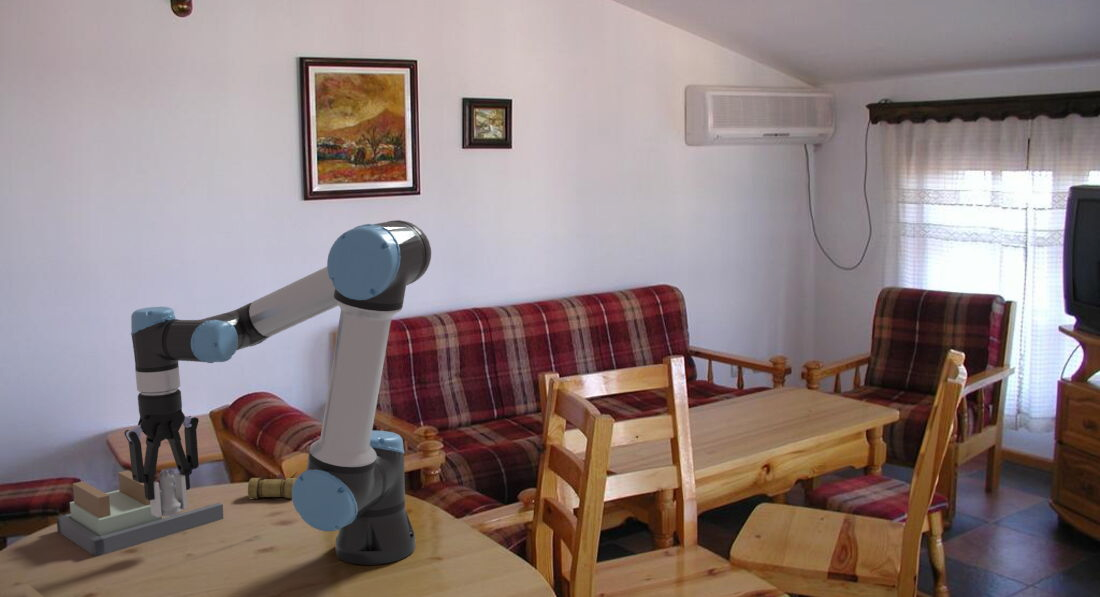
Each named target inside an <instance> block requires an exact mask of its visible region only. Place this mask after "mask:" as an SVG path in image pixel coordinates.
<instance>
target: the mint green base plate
mask: <svg viewBox="0 0 1100 597" xmlns="http://www.w3.org/2000/svg"><path fill="white" fill-rule="evenodd" d="M117 474H118V475H117V477H118V488H119V489H116V490H113V491H109V492H103V491H102V490H100V489H98V488H97V487H95V486H93V485H91V484H89V483H87V482H85V481H84V480H82V481H78V482H77V481H76V482H74V483H72V491H73V501H70V502H69V512H70V513H71V519H72V520H74V521H75V522H77V523H79V524H80V525H82V526H83V527H85V528H87V529H88V530H90V531H91V532H93V533H95V534H96V535H98V536H103V535H107V534H110V533H114V532H117V531H121V530H124V529H128V528H131V527H135V526H138V525H142V524H145V523H149V522H152V521H156V520H160V519H163V516H161V517H156V516H154V515H152V514H151V505H150V500H148V499H146V497H145V490H144V483H139V482H137V481H135V480H133V478H132V471H130V470H128V469H126V470H123V471H118V472H117Z"/></svg>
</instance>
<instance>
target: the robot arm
mask: <svg viewBox="0 0 1100 597" xmlns="http://www.w3.org/2000/svg"><path fill="white" fill-rule="evenodd" d="M327 256H328V257H327V259H326V260H327V262H326V266H325V267H323V268H320V269H318V270H316V271H315V272H314V271H313V272H312V273H310V274H307V275H306V276H304V277H302V278H299V279H298V280H295V281H294V282H291V283H290V284H287V285H285V286H283V287H281V288H279V289H277V290H275V291H272V292H271V293H269V294H266V295H264V296H261V297H259V298H258V299H255V300H253V301H252V302H249V303H247V304H245V305H243V306H240V307H238V308H237V309H233V310H231V311H228V312H225V313H220V314H217V315H213V316H208V317H205V318H202V319H177V318H176V315H175V311H174V309H173V308H172V307H169V306H150V307H143V308H139V309H136V310H135V311H133V312H132V314H131V316H130V318H131V319H130V320H131V321H130V322H131V326H130V327H131V328H130V329H131V333H130V335H131V340H132V349H133V354H134V366H135V367H134V368H135V369H134V370H135V371H134V372H135V380H136V382H135V383H136V391H138V395H137V405H138V406H137V407H138V413H139V414H138V415H139V421H138V422H137V426H135V427H134V428H132V429H126V430H125V431H124V432H123V433H124V437H125V439H126V440H127V442H128V449H129V450H128V451H129V457H130V466H131V467H130V468H131V472H132V478H133V480H135V481H137V482H139V483H144V490H145V497H146V499H148V500H150V505H151V514H152V515H154V516H156V517H161V516H162V513H161V501H160V490H161V489H160V483H159V481H157V480H156V479H155V478H156V472H157V464H158V456H159V450H160V447H161V444H162V441H165V440H167V441H168V443H169V447H170V449H171V453H172V455H173V458H174V459H173V460H174V462H175V465H176V467H177V470H178V472H177V473H175V472H174V474H175V475H176V477H175V479H174V483H176V484H175V486H176V496H177V498H178V500H179V501H180V502H181V506H180V507H181V508H182V510H184V511H185V510H188V508H189V505H188V494H187V491H188V490H191V489H190V488H191V480H190V475H192V473H193V470H196V469H198V468H199V453H198V452H199V451H198V448H199V447H198V435H197V429H198V426H199V425H198V424H199V418H198V417H195V416H192V415H188V416H187V415H185V414H184V412H183V410H182V408H183V403H182V391H181V390H180V389H179V388H180V387H181V378H180V368H179V361H181V362H183V361H184V362H197V363H198V362H199V363H206V364H213V363H225V362H227V361H229V360H230V359H232V356H234V355H235V354H236V352H237V351H239V350H242V349H245V348H249V347H253V346H256V345H259V344H262V343H264V341H266V340H267V339H269V338H270V337H273V336H274V335H275V336H276V335H277V334H279V333H281V332H284V331H286V330H288V329H291V328H293V327H295V326H297V325H299V324H302V323H304V322H306V321H308V320H310V319H312V318H316V316H319V315H321V314H323V313H326V312H327V311H330V310H332V309H335V308H336V307H339V309H340V314H339V320H338V326H337V327H338V328H337V332H336V340H335V344H334V349H333V350H334V351H333V357H332V364H331V370H330V376H329V384H328V389H327V396H326V401H325V408H324V413H323V420H322V426H321V433H320V438H318V439H317V440H316V441H314V442H313V443H311V445H310V447H309V452H308V457H307V465H306V469H305V470H304V471H303V472H301V473H300V474H299V475H298V476H297V478H296V481H295V482H294V484H293V487H292V499H291V501H292V503H293V504H292V505H293V507H294V509H295V512H296V513H298V514H299V515H300V518H301V520H303V521H304V523H306V524H307V525H308V526H310V527H311V528H313V529H315V530H317V531H322V532H335V531H338V533H337V536H336V538H335V544H334V545H335V555H336V557H337V558H338V559H340V560H342V561H344V562H346V563H350V564H354V565H360V566H362V565H363V566H365V565H366V566H372V565H384V564H389V563H393V562H396V561H397V562H398V561H401V560H403V559H405V558H407V557H408V556H410V555H411V554H412V553H414V551H415V550H416V534H415V531H414V528H413V526H412V522H411V520H410V517H409V515H408V512H407V508H406V488H405V487H406V484H405V454H406V453H405V450H404V441H403V438H402V436H400V434H399V433H398V434H397V433H395V432H393V431H384V430H373V428H374V422H375V417H376V416H375V415H376V411H377V405H378V399H379V391H380V387H381V381H382V375H383V369H384V363H385V358H386V351H387V345H388V341H389V334H390V328H391V323H392V318H393V316H395V315H396V314H398V313H400V312H401V311H402V309H403V306H404V305H403V304H404V302H405V295H406V294H405V293H406V289H407V286H409V285H411V284H414V283H415V282H416V281H419V280H420V279H421V278H422V277H423V276H424V274H426V272H427V270H428V269H429V266H430V264H431V260H432V247H431V243H430V240H429V239H428V236H427V235H426V234H425V232H424V231H423V230H422V229H421V228H419V227H418V226H417V225H415V224H413V223H412V222H409V221H405V220H400V219H399V220H398V219H397V220H390V221H389V220H388V221H385V222H378V223H374V224H373V223H372V224H371V223H367V224H362V225H358V226H355V227H354V228H352V229H351V228H350V229H349V230H347V231H345V232H343V233H342V234H340V236H339V237H337V238H336V240H335V241H334V242H333V244H332V245H331V247H330V249H329V253H328V255H327ZM182 425H183V426H184V429H183V430H184V441H185V442H184V443H185V444H184V445H185V449H184V448H183V444H182V438H181V435H180V432H179V431H180V429H181V427H182ZM142 433H143V434H144V435H145V436H146V438H145V445H146V448H145V455H144V459H143V452H142V450H143V449H142V442H141V438H142ZM143 460H144V461H143ZM162 517H163V516H162Z"/></svg>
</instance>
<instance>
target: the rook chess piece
mask: <svg viewBox="0 0 1100 597" xmlns="http://www.w3.org/2000/svg"><path fill="white" fill-rule="evenodd" d="M158 474H159V475H158V477H157V480H159V481H160V483H159V488H160V490H161V499H160V501H161V513H162V517H165V518H167V517H170V516H174V515H177V514H181V513H182V510H183V509H182V508H181V507H180V506H181V502H180V501H179V500H178V498H177V496H176V492H175V486H176V485H175V484H176V483H175V477H176V475H175V471H174V470H172V469H168V471H167V470H163V471H160V472H159V473H158Z"/></svg>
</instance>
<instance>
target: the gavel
mask: <svg viewBox="0 0 1100 597" xmlns="http://www.w3.org/2000/svg"><path fill="white" fill-rule="evenodd" d="M296 479H297V478H296V477H292V478H287V479H286V478H285V477H284V476H283V474H282V473H281V472H280V473H279V474H278V475H277V476H276V477H275V478H273V479H272V478H270V479H267V478H266V479H265V478H264V479H262V478H261V477H251V478H250V479H249V481H248V485H247V495H248V497H249V499H250V498H258V497H260V498H264V497H282V498H285V499H286V498H292V487H293V484H294V482H295V481H296Z"/></svg>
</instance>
